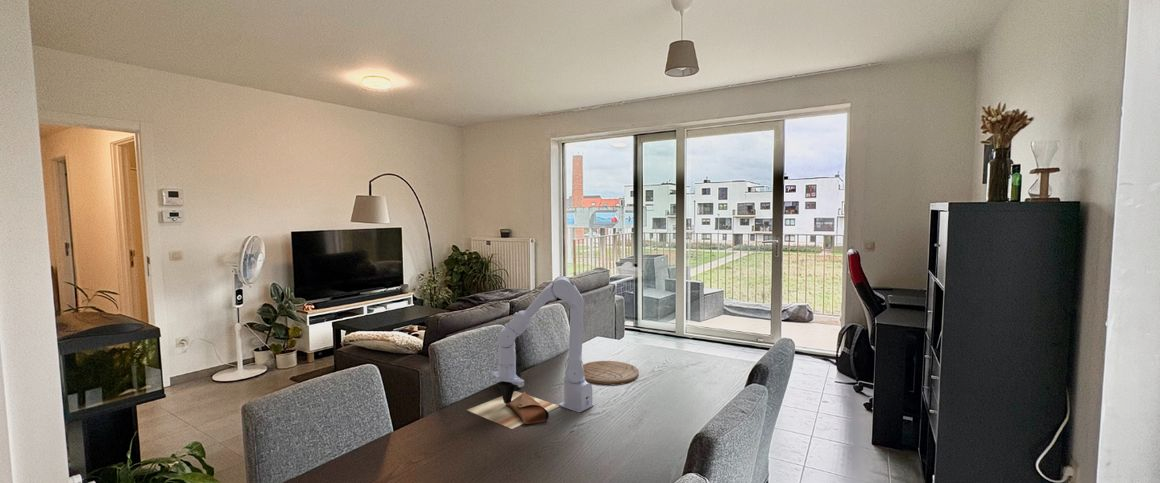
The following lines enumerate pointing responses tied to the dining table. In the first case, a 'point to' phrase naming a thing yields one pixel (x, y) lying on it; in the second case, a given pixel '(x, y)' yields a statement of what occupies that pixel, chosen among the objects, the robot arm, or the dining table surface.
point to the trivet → (609, 372)
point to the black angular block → (517, 367)
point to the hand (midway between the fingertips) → (507, 402)
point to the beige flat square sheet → (505, 411)
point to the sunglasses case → (528, 409)
